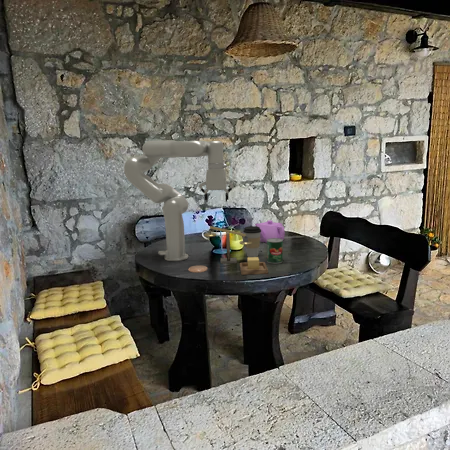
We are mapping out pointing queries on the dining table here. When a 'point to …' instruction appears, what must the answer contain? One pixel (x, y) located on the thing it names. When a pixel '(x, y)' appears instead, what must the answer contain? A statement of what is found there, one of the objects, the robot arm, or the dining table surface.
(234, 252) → the dining table surface
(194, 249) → the dining table surface
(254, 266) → the ochre block
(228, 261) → the balance
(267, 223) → the teakettle
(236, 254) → the dining table surface
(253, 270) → the walnut tray
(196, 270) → the terracotta dish
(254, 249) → the coffee cup
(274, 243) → the canned tomato
